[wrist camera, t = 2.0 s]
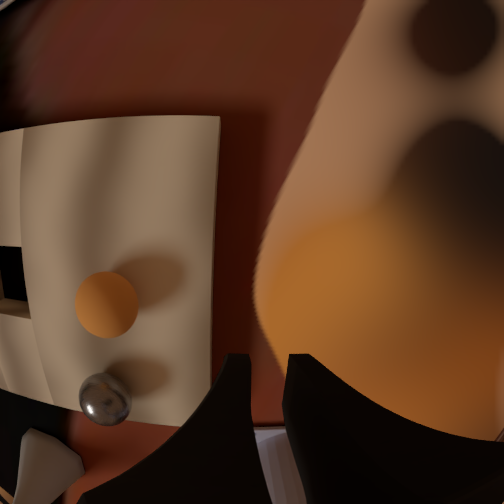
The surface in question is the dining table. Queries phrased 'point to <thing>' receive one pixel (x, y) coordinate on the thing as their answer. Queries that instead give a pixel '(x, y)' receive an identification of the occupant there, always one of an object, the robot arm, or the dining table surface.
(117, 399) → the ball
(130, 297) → the ball
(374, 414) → the robot arm
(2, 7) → the ceramic plate
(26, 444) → the flask
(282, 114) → the dining table surface
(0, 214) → the board
